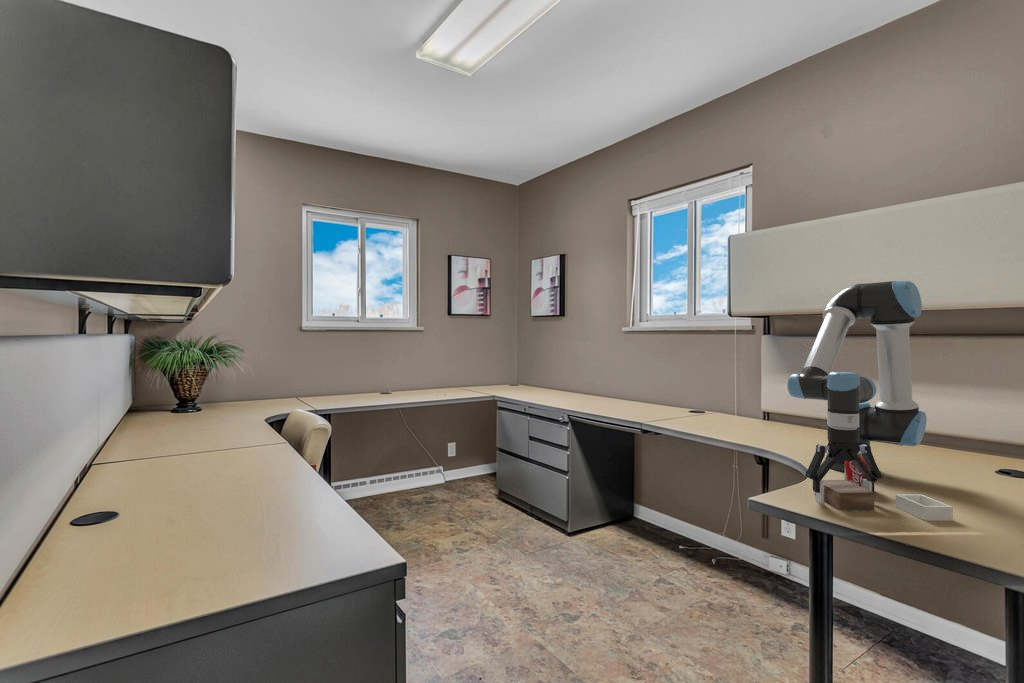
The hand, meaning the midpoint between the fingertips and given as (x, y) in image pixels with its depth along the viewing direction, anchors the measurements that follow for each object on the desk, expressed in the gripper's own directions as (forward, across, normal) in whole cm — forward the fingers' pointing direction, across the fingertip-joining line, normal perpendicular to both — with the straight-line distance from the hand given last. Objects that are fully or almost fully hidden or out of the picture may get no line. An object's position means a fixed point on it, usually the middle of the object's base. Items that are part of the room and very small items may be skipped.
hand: (843, 503), depth 142 cm
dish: (0, +15, -9) cm, 17 cm away
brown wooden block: (-1, 0, 0) cm, 1 cm away
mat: (0, 0, 0) cm, 0 cm away
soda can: (0, +12, +12) cm, 17 cm away
